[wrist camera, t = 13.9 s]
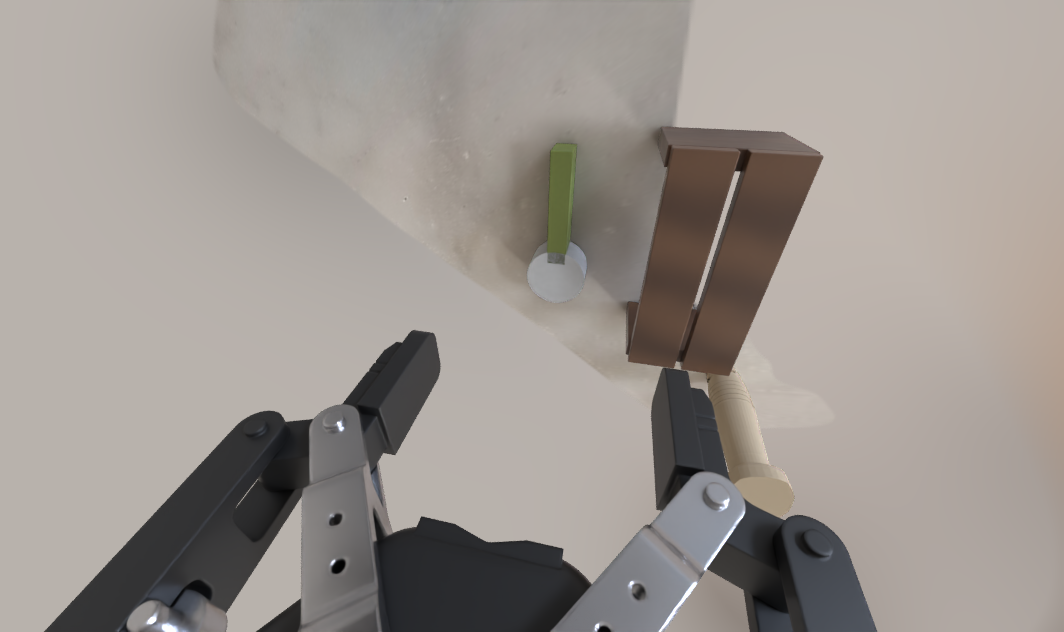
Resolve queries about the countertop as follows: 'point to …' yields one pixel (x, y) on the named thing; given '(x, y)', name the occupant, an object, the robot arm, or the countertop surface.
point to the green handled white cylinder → (559, 235)
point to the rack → (743, 248)
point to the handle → (747, 446)
